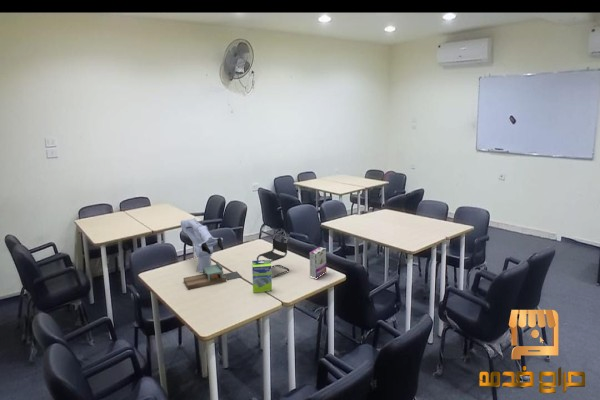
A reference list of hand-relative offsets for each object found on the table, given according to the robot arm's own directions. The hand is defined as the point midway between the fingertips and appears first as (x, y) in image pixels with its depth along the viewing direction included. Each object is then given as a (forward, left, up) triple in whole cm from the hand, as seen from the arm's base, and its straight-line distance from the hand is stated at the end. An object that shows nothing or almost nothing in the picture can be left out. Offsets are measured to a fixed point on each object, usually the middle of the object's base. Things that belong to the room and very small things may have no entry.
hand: (216, 250), depth 226 cm
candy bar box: (+22, +55, -19) cm, 62 cm away
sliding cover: (-3, -2, -16) cm, 16 cm away
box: (+24, +18, -19) cm, 36 cm away
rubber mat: (-3, +9, -19) cm, 21 cm away
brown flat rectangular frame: (-3, -7, -19) cm, 20 cm away
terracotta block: (-3, -2, -19) cm, 19 cm away
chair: (+4, +34, -19) cm, 39 cm away
